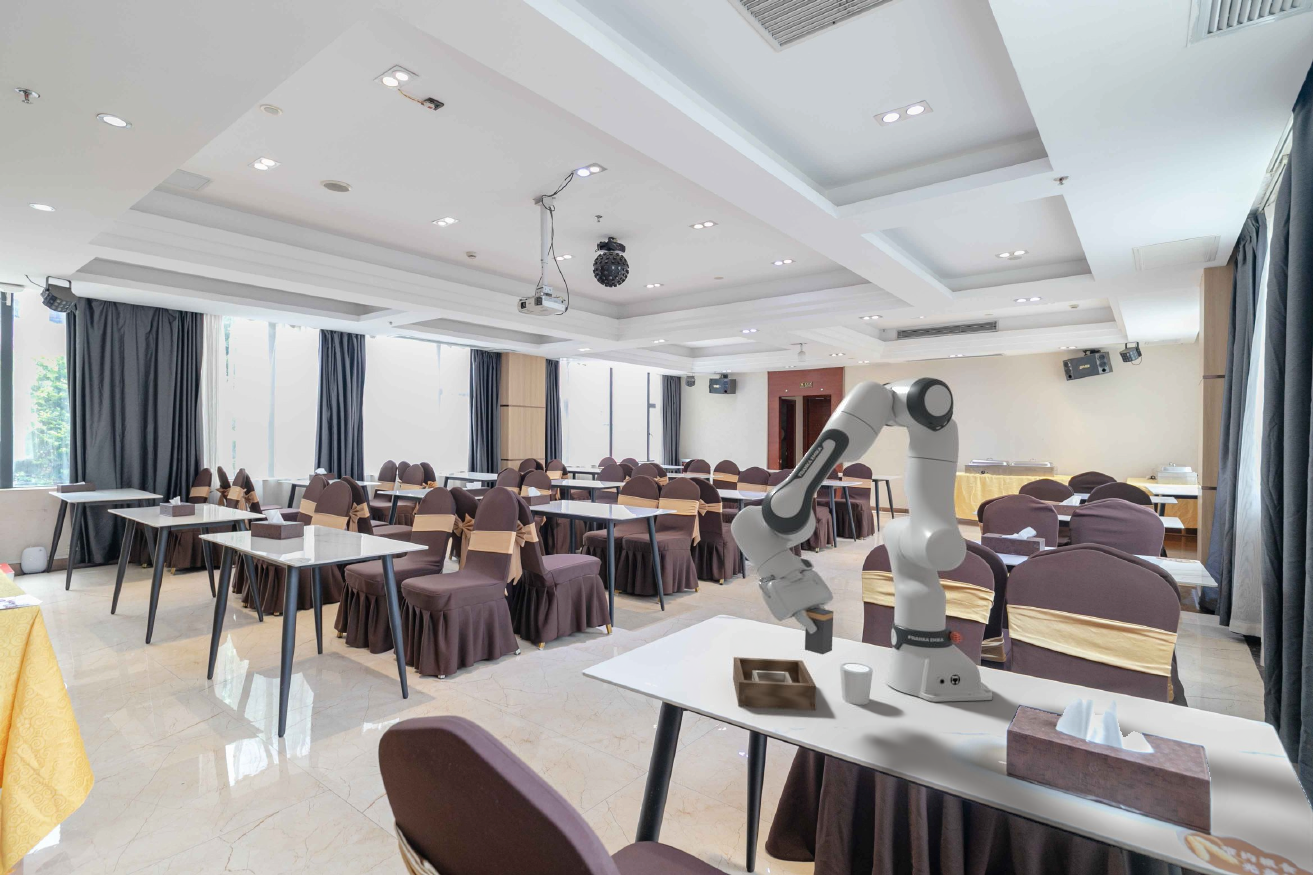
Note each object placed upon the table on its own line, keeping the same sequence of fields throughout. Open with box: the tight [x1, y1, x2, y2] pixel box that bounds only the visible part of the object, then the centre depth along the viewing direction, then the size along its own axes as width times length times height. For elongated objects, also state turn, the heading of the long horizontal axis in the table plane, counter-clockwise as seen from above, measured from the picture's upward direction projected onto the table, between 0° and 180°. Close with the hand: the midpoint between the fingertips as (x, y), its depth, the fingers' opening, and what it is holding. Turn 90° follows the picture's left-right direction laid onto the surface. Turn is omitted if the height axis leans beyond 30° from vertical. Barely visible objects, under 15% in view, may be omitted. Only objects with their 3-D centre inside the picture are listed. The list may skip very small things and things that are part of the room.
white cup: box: [839, 662, 873, 706], centre depth 138 cm, size 7×7×7 cm
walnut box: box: [732, 656, 817, 711], centre depth 140 cm, size 16×16×5 cm
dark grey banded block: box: [804, 607, 834, 655], centre depth 129 cm, size 4×4×8 cm
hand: (821, 629), depth 129 cm, fingers closed on dark grey banded block, 4 cm apart
